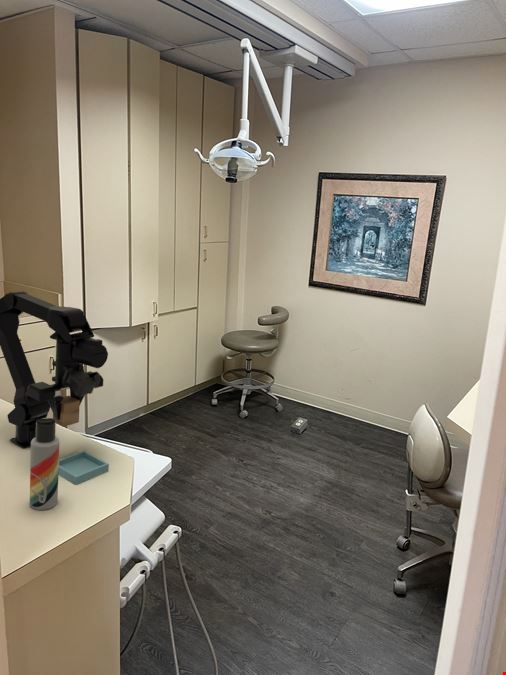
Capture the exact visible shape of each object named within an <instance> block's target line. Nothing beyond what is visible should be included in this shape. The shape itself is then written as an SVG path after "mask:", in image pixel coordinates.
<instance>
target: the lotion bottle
mask: <svg viewBox="0 0 506 675" xmlns="http://www.w3.org/2000/svg"><path fill="white" fill-rule="evenodd" d="M56 426H57V423H56V420H55V419H53V417H52V418H48V417H46V418H43V419H38V420H36V437H35V438H33V439H32V441H31V446H30V460H29V461H30V463H29V464H30V466H29V467H30V468H29V469H30V470H29V472H30V473H29V505H30V507H31V508H33V509H34V510H37V511H45V510H46V511H47V510H49V509H52V508H54V507H55V506H56V505H57V503H58V499H59V498H58V495H59V460H60V445H61V444H60V443H61V442H60V438H59V437H57V435H56V429H57V428H56Z"/></svg>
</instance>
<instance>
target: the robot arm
mask: <svg viewBox="0 0 506 675" xmlns="http://www.w3.org/2000/svg"><path fill="white" fill-rule="evenodd" d="M23 313H25V314H27V315H30V316H32V317H35V319H38V320H41V321H44V322H45V323H46V324H47V326H48V327H49V329H51V330H53V331H54V333H52V334H50V335H49V338H50V339H51V340H54V341H56V342H55V343H56V345H55V360H53V361H52V366H53V367H55V375H54V376H52V377H51V381H52V382H54V383H52V384H49V383H47V382H44V381H40V382H36V380H35V378H34V376H33V372H32V369H31V367H30V364H29V361H28V359H27V356H26V354H25V350H24V348H23V345H22V343H21V340H20V339H21V338H20V337H19V334H18V331H19V330H18V329H19V326H20V318H19V316H21V315H22V314H23ZM94 337H95V335H94V332H93V329H92V328H91V326H90V324H89V321H88V319H87V318H86V315H85V312H84V311H83V309H80V308H78V307H71V306H59V305H55V304H53V303H50V302H47V300H43V299H41V298H38V297H36V296H33V295H31V294H28V293H27V292H25V291H22V290H21V291H10V292H8V293H5V295H4V296H3V297H1V298H0V349H1V351H2V354H3V357H4V361H5V363H6V366H7V368H8V371H9V374H10V377H11V379H12V382H13V385H14V387H15V392H14V397H13V404H14V408H13V409H12V410H11V411H10V412H9V413H8V414H7V421H8V423H9V424H11V425H14V426H15V436H13V437H11V438H9V440H10V442H12V443H13V444H15V445H17V446H19V447H21V449H25V448H28V447H31V441H32V439H33V438H35V437H36V420H38V419H45V418H48V414H49V412H50V410H51V412H52V415H53V414H54V416H55V418H56V419H57V420H59V419H60V410H61V401H62V400H63V398H64V397H65V396H62V395H61V391H64V390H65V391H66V390H68V389H69V396H71V397H73V398H75V399H78V400H80V405H81V404H82V401H83V399H84V398H85V396H86V395H91V394H93V391H94V389H97V388H100V387H101V388H102V387H103V386H104V378H103V376H102V375H101V374H100V373H99V372H98V371H91V370H90V371H86V372H85V367H84V366H88V367H92V368H94V369H100V368H101V367H103V366H104V365H105V364H106V362H107V361H108V357H109V352H108V349H107V347H106V346H105V345H104V344H103V340H102V339H101V338H100V339H99V338H94Z"/></svg>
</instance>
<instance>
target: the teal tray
mask: <svg viewBox="0 0 506 675" xmlns="http://www.w3.org/2000/svg"><path fill="white" fill-rule="evenodd" d="M109 465H110V464H109V463H108V462H106V461H104V460H102V459H101V458H99V457H97V456H95V455H93V454H92V453H91V452H87V451H86V450H81V451H79V452H76V453H74V454H73V453H72V454H71V455H69V456H66V457H63V458H59V474H58V476H61V478H63V479H65V480H67V481H68V482H70V483H72V484H73V485H75V486H76V485H79V484H81V483H84V482H87V481H88V480H90V479H93V478H95V477H97V476H100V475H103V474H105V473H107V472H109V468H110V466H109Z"/></svg>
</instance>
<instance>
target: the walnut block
mask: <svg viewBox="0 0 506 675" xmlns="http://www.w3.org/2000/svg"><path fill="white" fill-rule="evenodd" d="M63 397H64V398H63V400H62V401H61V410H60V419H59V420H57V419H56V418H55V416H54V414H53V413H52V418H53V419H55V420H56V425H59V426H61V427H63V428H65V427H69V426H71V425H74V424H77V423H79V422H80V406H81V404H80V400H78V399H75V398H73V397H71V396H70V395H66V396H63Z"/></svg>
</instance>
